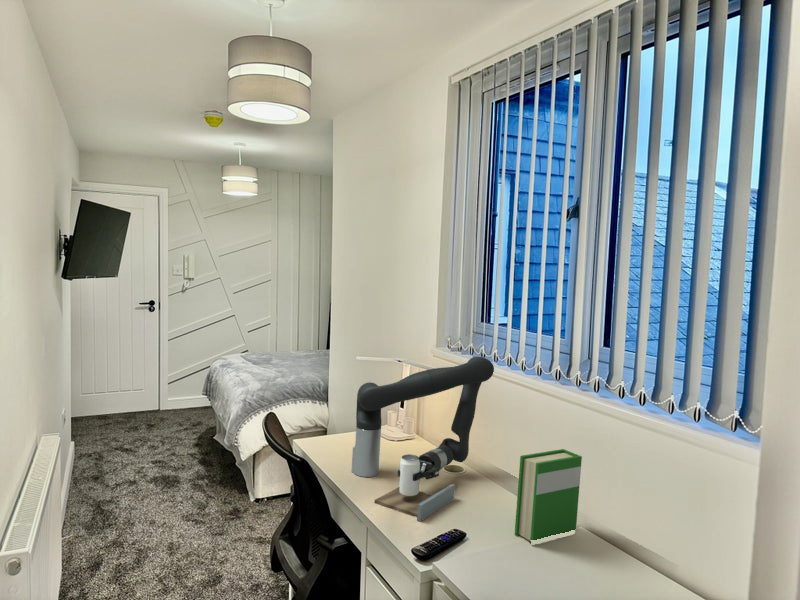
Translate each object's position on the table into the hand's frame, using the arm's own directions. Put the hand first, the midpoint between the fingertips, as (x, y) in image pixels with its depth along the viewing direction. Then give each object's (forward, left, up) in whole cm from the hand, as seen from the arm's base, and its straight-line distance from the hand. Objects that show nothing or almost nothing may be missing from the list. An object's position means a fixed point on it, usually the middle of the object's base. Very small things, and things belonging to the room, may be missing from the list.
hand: (406, 475), depth 189 cm
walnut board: (0, +2, -10) cm, 10 cm away
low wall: (+10, +3, -10) cm, 14 cm away
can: (0, +3, -7) cm, 7 cm away
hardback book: (+44, +9, -10) cm, 46 cm away
